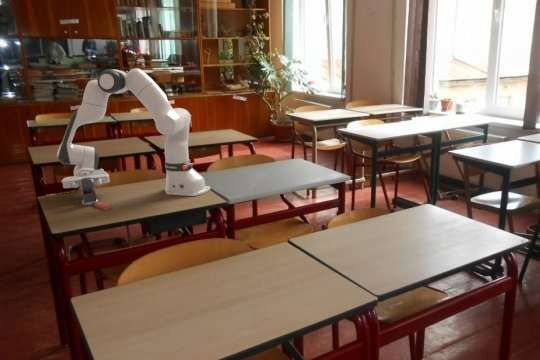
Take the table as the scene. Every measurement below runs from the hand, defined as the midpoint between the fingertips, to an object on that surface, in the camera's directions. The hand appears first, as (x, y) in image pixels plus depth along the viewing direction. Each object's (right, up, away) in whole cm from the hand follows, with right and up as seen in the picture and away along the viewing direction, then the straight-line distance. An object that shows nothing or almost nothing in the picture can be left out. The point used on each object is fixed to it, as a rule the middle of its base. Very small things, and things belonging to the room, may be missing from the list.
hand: (87, 184), depth 213 cm
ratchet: (+5, -9, -1) cm, 11 cm away
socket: (+1, -7, +1) cm, 7 cm away
